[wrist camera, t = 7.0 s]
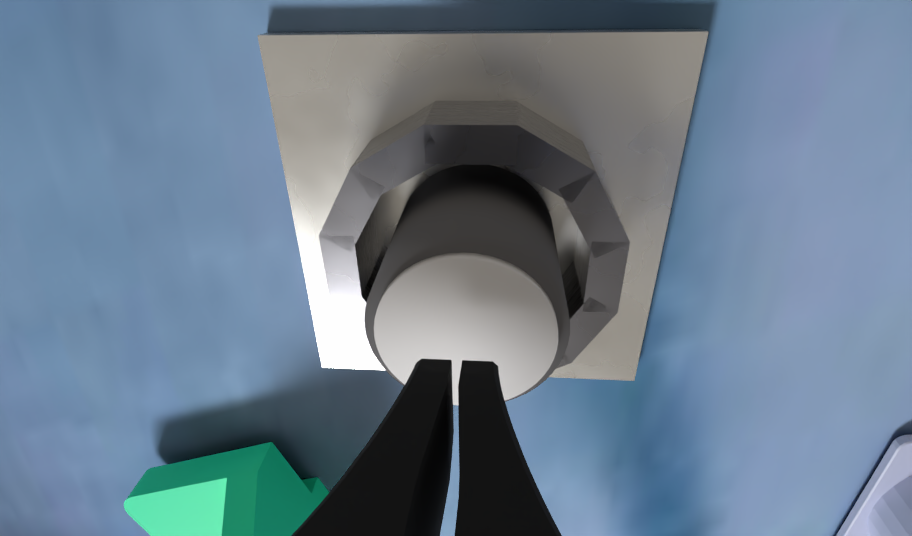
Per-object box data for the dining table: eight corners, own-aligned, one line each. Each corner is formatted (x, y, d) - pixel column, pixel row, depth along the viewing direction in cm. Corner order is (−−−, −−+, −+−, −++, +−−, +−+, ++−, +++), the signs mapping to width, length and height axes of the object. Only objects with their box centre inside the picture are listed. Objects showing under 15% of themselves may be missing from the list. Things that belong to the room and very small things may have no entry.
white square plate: (701, 28, 14) (747, 45, 11) (630, 369, 20) (650, 432, 17) (266, 32, 15) (213, 48, 12) (326, 357, 21) (300, 415, 18)
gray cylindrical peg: (557, 162, 15) (579, 247, 11) (549, 301, 18) (564, 417, 13) (391, 164, 16) (347, 246, 11) (406, 300, 18) (374, 411, 14)
